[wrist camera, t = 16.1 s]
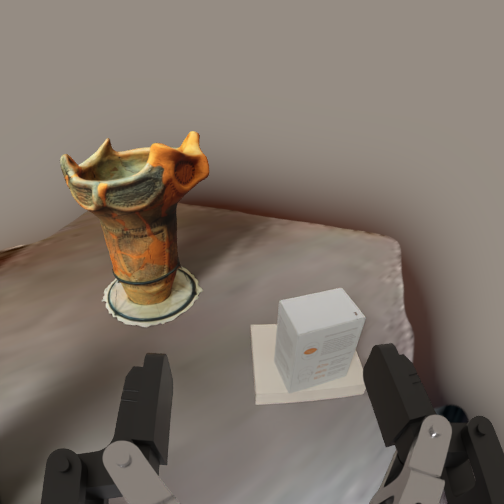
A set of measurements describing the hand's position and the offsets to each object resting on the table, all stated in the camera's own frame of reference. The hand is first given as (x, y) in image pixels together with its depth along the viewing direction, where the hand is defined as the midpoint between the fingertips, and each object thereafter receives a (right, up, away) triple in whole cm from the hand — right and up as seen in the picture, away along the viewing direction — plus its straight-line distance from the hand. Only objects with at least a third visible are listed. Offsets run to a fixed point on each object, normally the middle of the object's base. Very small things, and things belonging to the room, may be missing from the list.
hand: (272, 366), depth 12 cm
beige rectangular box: (+6, -11, +30) cm, 33 cm away
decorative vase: (-19, -3, +43) cm, 47 cm away
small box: (+6, -11, +26) cm, 29 cm away
